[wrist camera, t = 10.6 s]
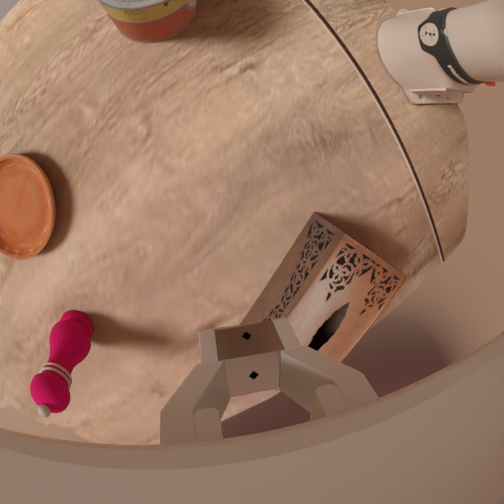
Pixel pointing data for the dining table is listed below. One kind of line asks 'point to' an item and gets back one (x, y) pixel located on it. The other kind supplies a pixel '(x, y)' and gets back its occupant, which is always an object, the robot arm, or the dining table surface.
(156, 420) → the dining table surface
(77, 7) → the dining table surface
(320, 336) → the tissue box cover
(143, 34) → the canned food
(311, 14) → the dining table surface
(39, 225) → the saucer
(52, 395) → the pepper mill
